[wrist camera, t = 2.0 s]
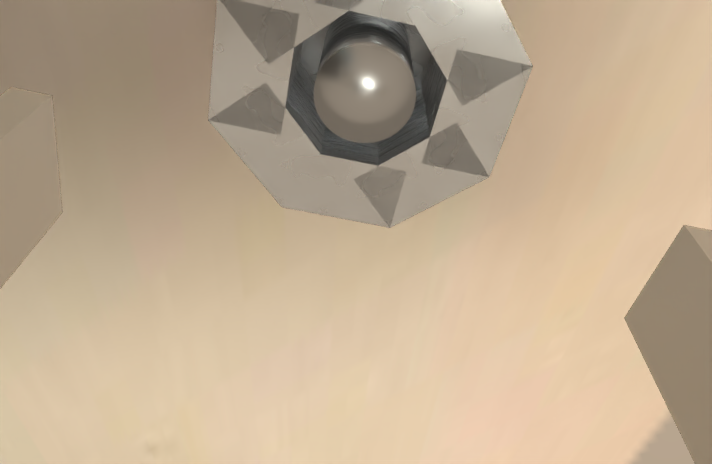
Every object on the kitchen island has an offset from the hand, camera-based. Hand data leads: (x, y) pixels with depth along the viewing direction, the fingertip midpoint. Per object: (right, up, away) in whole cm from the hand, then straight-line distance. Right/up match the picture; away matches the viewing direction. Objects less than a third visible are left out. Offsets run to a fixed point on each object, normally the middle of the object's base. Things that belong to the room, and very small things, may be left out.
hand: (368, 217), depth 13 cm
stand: (0, +9, +12) cm, 15 cm away
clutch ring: (0, +6, +8) cm, 10 cm away
